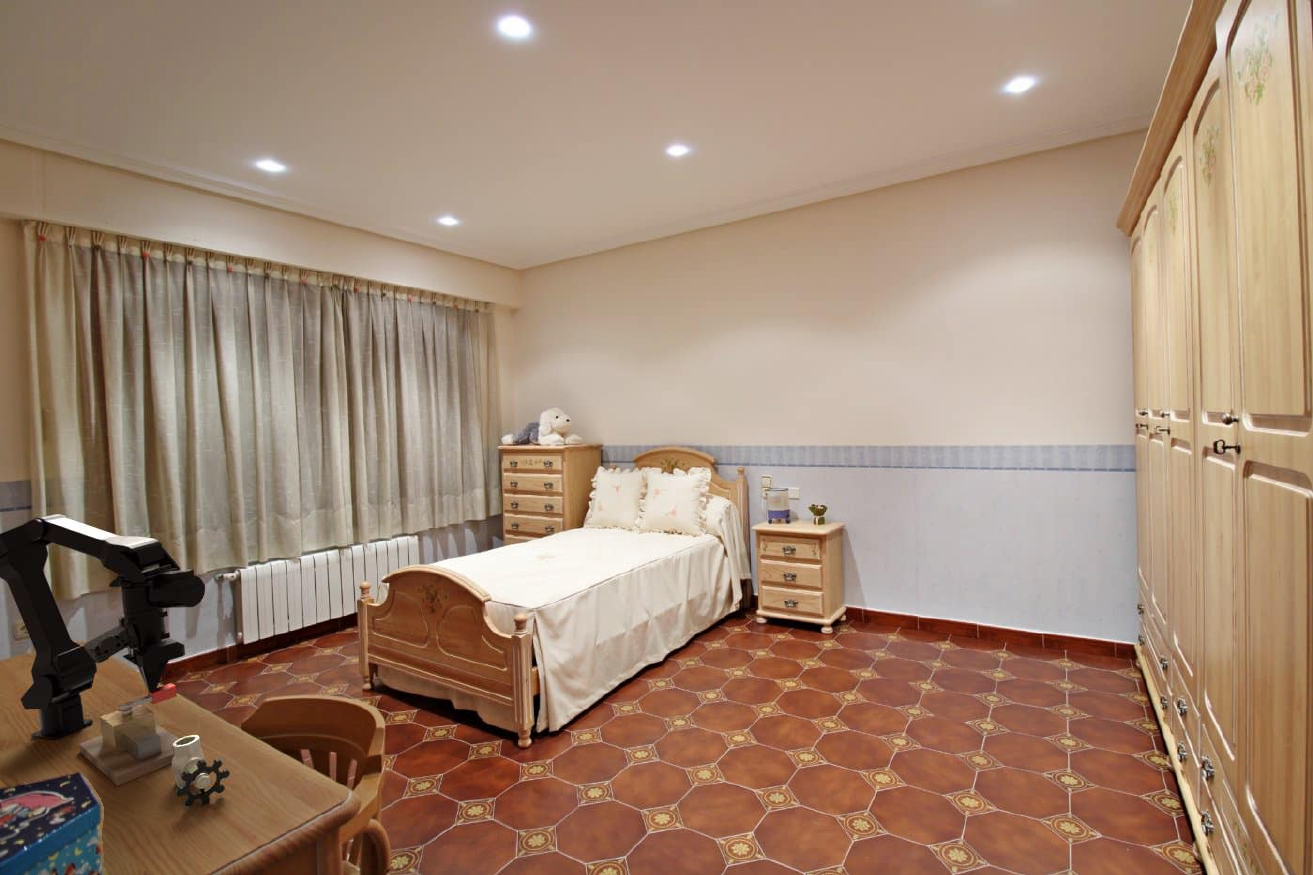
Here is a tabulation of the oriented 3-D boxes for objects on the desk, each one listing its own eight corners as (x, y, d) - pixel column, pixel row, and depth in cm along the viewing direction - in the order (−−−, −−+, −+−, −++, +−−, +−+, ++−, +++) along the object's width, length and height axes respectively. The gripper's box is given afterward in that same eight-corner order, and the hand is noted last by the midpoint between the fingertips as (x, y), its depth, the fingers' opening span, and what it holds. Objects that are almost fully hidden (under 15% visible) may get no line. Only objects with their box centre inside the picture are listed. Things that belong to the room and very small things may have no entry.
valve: (161, 786, 99) (178, 816, 91) (156, 745, 98) (174, 772, 90) (211, 766, 104) (232, 793, 96) (207, 727, 103) (228, 752, 95)
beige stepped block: (98, 740, 111) (94, 707, 111) (137, 726, 116) (134, 694, 115) (129, 766, 102) (125, 730, 102) (171, 749, 107) (167, 715, 106)
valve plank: (79, 751, 111) (78, 743, 111) (149, 725, 119) (148, 718, 119) (117, 785, 99) (116, 776, 99) (191, 754, 108) (190, 746, 107)
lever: (121, 715, 108) (120, 704, 108) (117, 712, 110) (116, 701, 109) (176, 696, 115) (175, 685, 115) (172, 693, 116) (171, 683, 116)
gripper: (72, 614, 115) (81, 696, 116) (101, 631, 104) (111, 721, 105) (147, 596, 124) (155, 673, 125) (181, 610, 113) (190, 694, 114)
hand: (152, 690), depth 117 cm, fingers closed
